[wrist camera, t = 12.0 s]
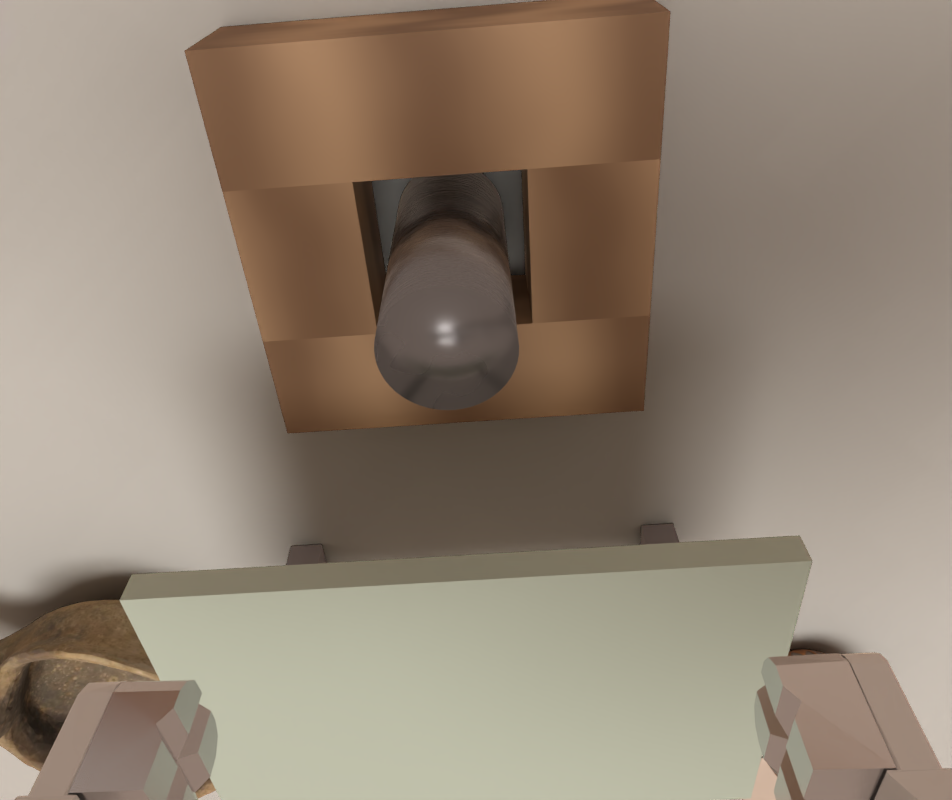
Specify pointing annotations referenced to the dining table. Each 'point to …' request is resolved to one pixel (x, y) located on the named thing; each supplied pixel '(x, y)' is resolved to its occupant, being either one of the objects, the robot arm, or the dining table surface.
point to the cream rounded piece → (764, 783)
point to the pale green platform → (483, 669)
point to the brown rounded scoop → (64, 672)
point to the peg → (448, 295)
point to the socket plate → (435, 154)
